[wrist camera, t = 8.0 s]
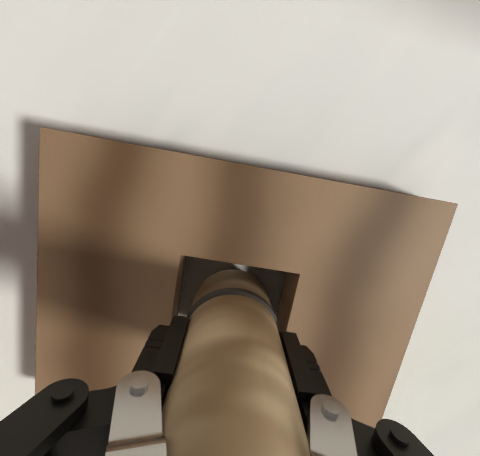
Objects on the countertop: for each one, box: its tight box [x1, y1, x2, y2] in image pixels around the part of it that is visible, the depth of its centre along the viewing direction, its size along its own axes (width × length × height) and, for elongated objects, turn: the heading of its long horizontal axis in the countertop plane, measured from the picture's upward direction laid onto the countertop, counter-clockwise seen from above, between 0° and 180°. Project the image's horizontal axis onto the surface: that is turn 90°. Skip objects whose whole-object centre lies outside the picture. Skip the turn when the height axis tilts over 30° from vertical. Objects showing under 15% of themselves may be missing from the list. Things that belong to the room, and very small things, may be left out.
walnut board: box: [35, 127, 458, 428], centre depth 16 cm, size 20×16×2 cm
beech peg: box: [161, 270, 311, 456], centre depth 10 cm, size 5×5×12 cm
